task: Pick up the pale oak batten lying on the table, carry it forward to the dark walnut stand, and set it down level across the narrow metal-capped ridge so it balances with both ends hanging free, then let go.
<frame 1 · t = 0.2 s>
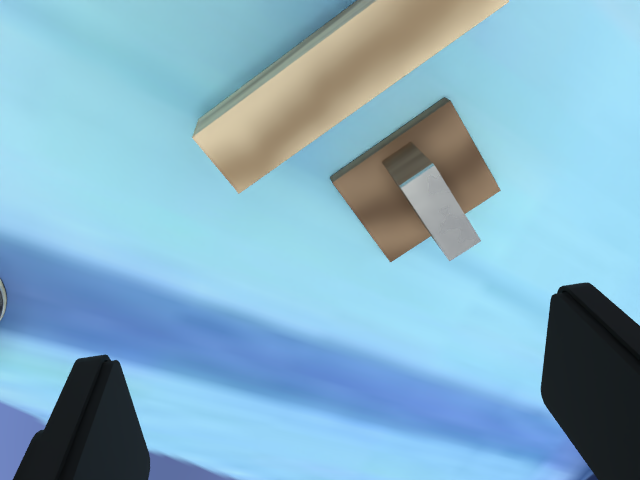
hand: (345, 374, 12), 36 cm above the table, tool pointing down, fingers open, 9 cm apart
oak batten: (335, 59, 44), on the table
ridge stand: (413, 181, 49), on the table
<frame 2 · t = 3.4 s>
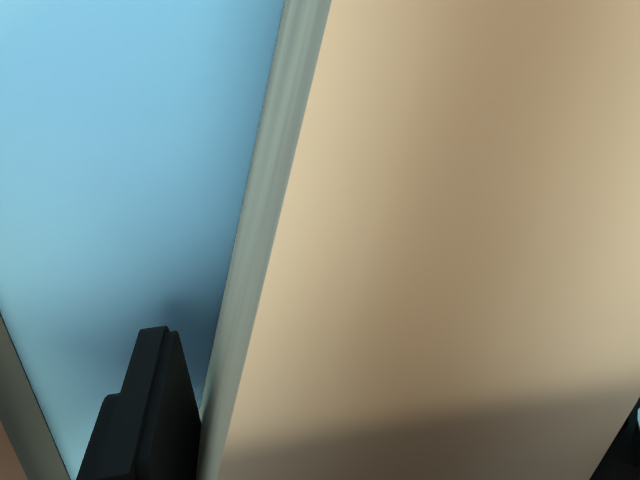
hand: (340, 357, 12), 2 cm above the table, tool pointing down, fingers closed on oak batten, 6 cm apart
oak batten: (330, 320, 14), on the table, touching gripper
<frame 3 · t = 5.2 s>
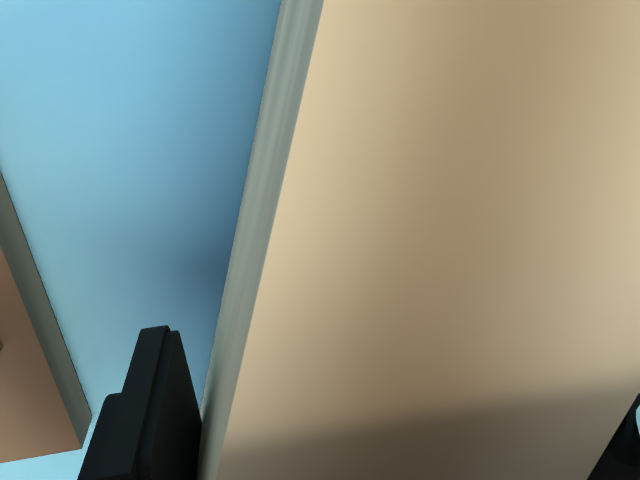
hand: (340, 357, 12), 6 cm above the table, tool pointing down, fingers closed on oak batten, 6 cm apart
oak batten: (330, 320, 14), point 5 cm above the table, touching gripper
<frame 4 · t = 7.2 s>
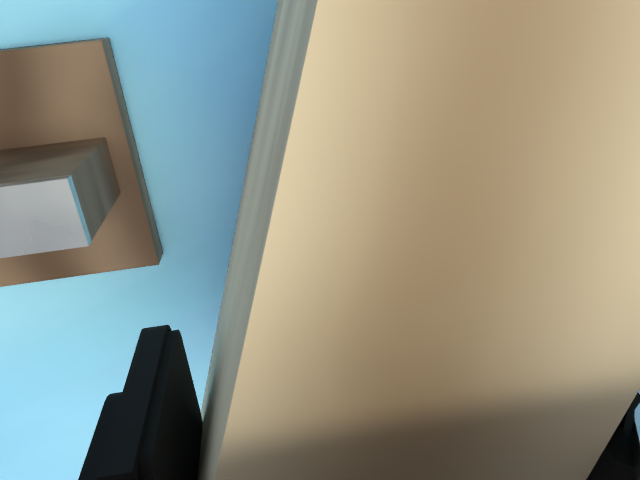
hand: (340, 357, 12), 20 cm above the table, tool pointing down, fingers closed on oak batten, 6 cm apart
oak batten: (330, 321, 14), point 18 cm above the table, touching gripper
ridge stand: (43, 166, 29), on the table
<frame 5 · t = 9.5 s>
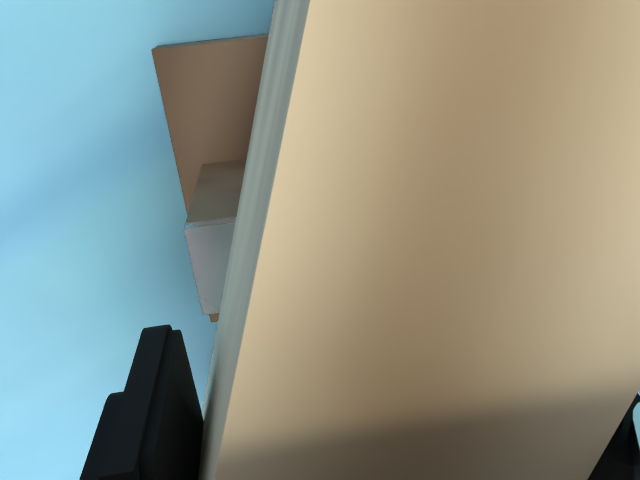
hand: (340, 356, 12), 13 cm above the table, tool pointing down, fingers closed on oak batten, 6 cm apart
oak batten: (330, 323, 14), point 12 cm above the table, touching gripper
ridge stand: (301, 175, 24), on the table
when the fingers open (10 cm above the table, at t = 11.5 s): oak batten stays where it is, resting on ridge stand.
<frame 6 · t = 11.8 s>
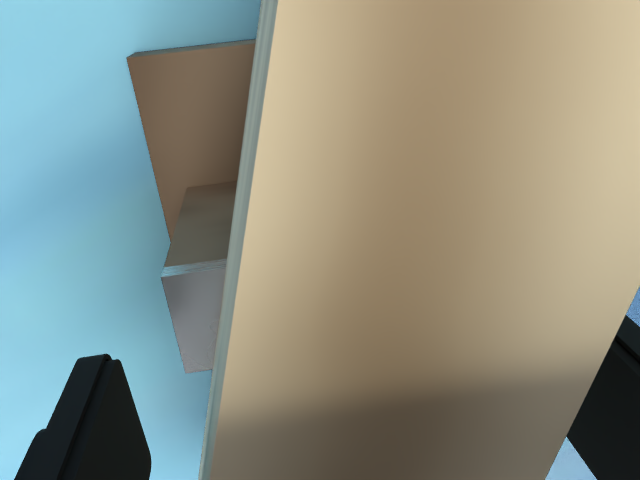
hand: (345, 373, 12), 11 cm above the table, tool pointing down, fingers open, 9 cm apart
oak batten: (327, 309, 14), point 8 cm above the table, touching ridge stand
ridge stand: (300, 197, 21), on the table
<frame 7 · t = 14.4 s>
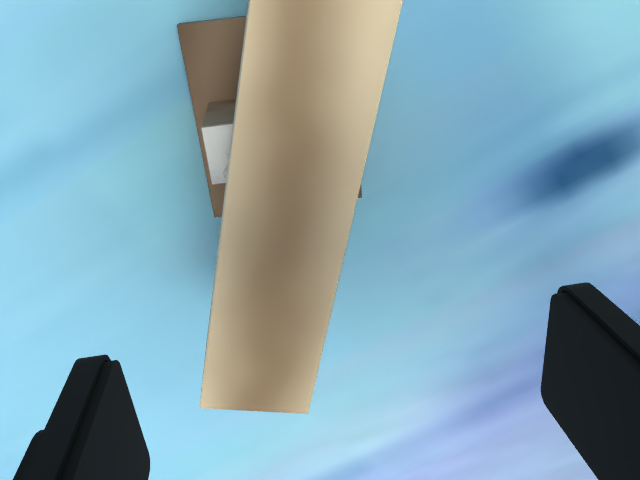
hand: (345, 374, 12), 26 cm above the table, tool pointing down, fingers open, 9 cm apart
oak batten: (284, 149, 28), point 8 cm above the table, touching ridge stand
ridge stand: (276, 113, 35), on the table
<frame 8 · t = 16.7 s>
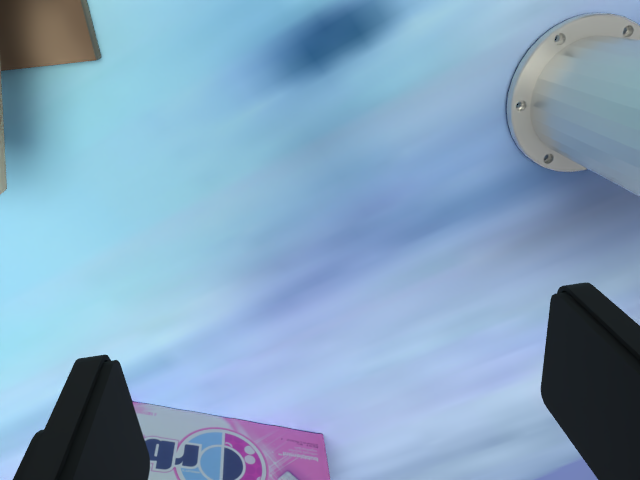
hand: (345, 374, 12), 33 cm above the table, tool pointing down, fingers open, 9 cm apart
gum box: (211, 441, 56), on the table
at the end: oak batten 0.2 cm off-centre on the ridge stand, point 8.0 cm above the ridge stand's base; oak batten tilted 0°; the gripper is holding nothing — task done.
